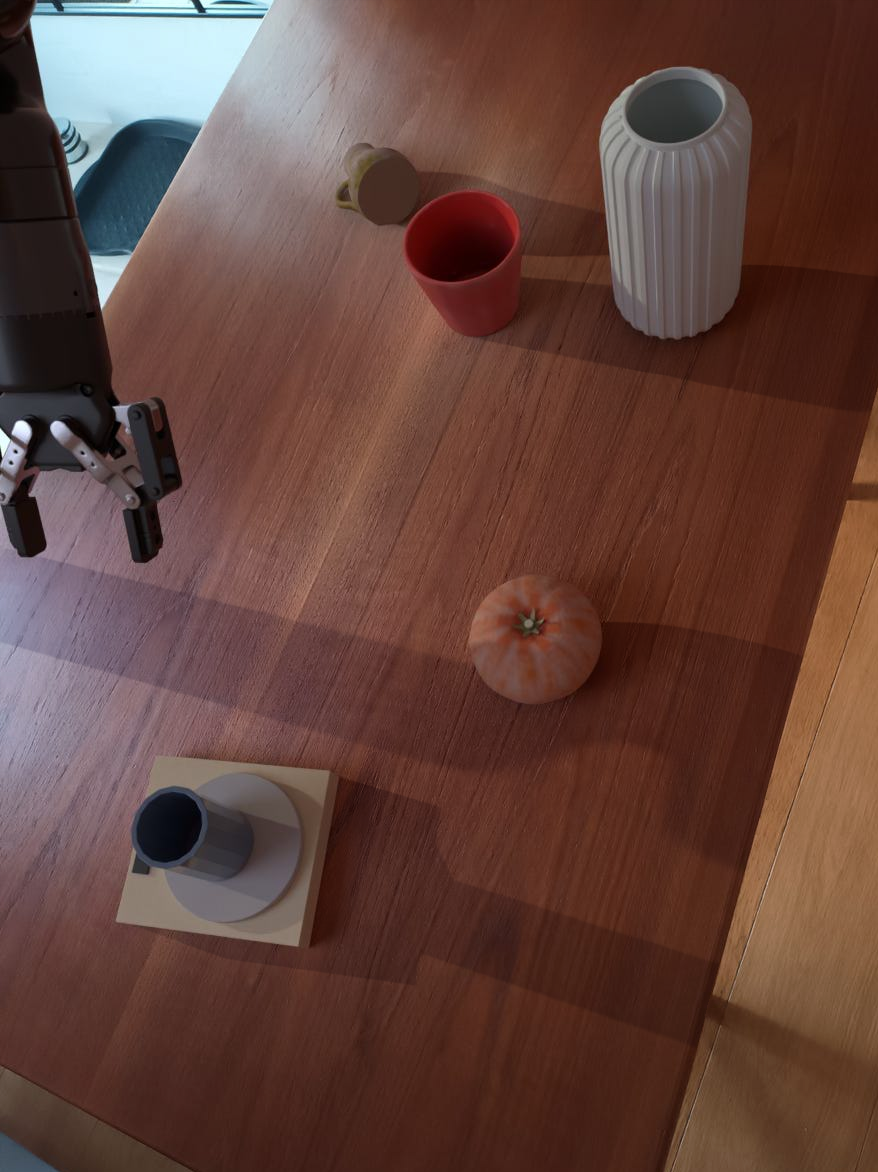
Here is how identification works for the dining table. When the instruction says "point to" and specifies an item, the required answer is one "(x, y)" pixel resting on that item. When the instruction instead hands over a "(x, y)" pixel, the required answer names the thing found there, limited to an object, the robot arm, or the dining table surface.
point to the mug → (379, 184)
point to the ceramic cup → (191, 835)
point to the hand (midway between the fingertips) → (89, 556)
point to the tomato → (535, 639)
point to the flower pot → (467, 259)
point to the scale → (274, 870)
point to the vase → (676, 199)
